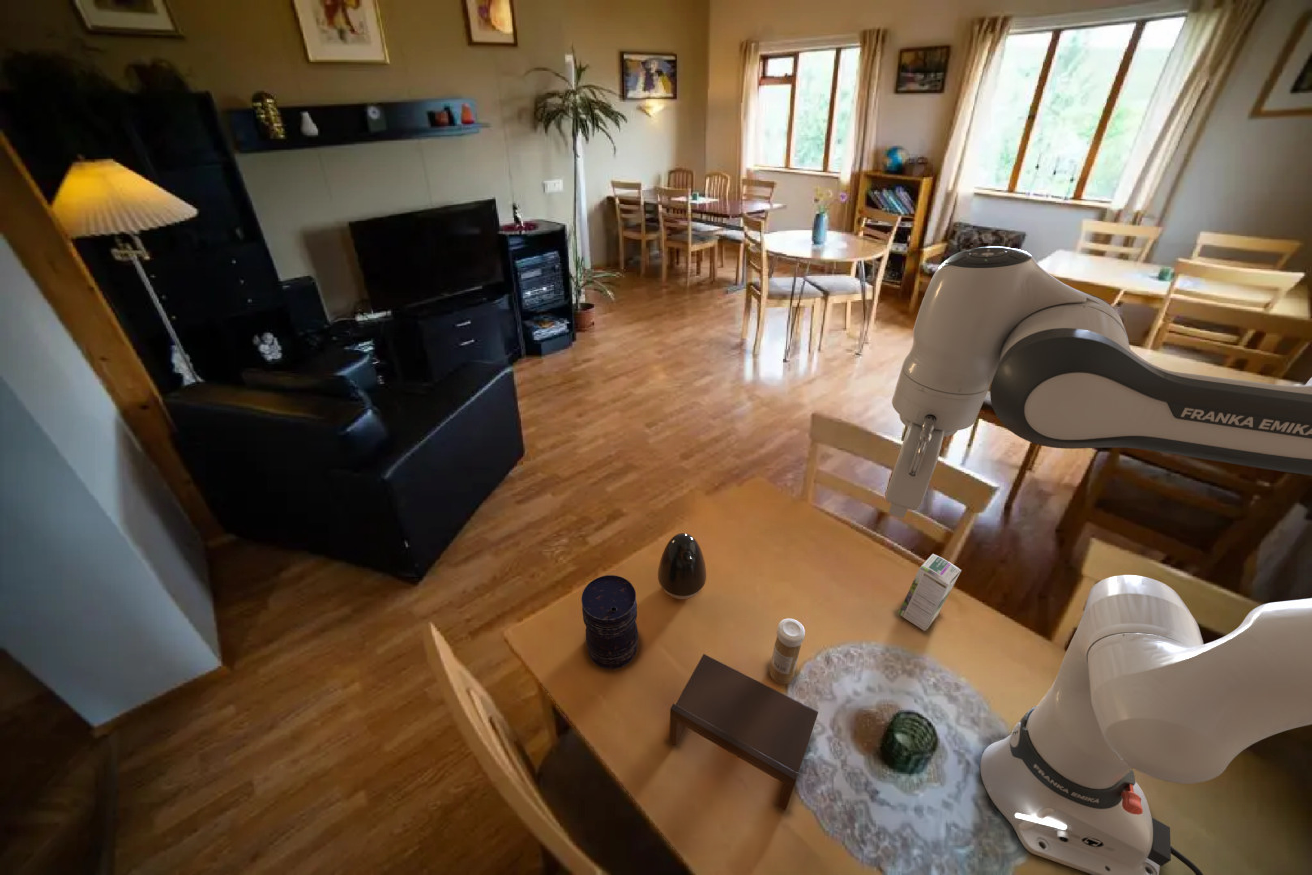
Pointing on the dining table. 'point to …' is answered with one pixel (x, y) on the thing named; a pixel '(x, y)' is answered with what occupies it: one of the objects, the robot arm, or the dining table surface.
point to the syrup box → (929, 591)
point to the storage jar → (610, 621)
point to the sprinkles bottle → (786, 650)
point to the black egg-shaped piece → (682, 567)
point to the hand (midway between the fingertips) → (903, 490)
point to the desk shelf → (745, 720)
